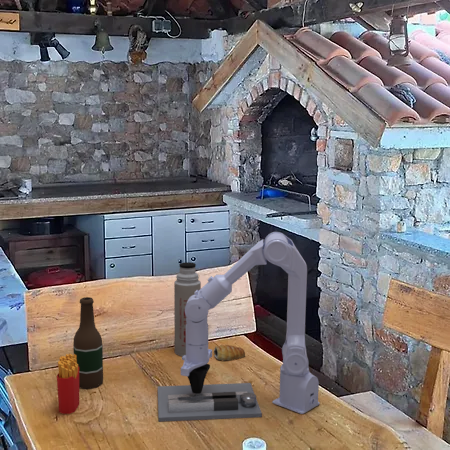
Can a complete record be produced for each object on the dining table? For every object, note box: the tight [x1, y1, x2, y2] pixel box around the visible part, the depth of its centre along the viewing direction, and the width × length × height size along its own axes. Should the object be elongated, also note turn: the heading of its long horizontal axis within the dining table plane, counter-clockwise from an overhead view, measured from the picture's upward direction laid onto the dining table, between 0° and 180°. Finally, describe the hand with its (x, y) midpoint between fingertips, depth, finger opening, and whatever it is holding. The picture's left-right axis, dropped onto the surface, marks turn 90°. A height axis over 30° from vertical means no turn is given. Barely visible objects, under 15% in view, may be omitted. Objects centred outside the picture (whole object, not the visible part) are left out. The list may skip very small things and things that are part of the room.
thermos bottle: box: [173, 261, 202, 357], centre depth 198 cm, size 8×8×28 cm
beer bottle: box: [72, 296, 104, 390], centre depth 175 cm, size 8×8×24 cm
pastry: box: [213, 344, 246, 362], centre depth 197 cm, size 9×7×4 cm
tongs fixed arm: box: [168, 398, 238, 413], centre depth 160 cm, size 17×2×2 cm, turn 97°
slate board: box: [157, 382, 263, 422], centre depth 166 cm, size 25×18×1 cm
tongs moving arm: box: [168, 392, 257, 407], centre depth 162 cm, size 22×5×2 cm, turn 97°
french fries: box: [56, 353, 80, 415], centre depth 162 cm, size 9×4×13 cm, turn 177°
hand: (196, 392), depth 167 cm, fingers closed
